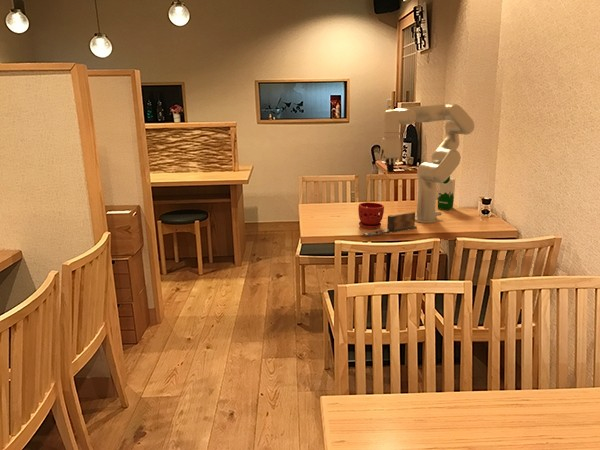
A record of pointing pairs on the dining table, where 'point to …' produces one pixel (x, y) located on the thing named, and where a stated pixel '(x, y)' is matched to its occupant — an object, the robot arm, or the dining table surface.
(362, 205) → the plant pot
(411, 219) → the walnut screen
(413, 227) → the screen rail
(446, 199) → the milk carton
